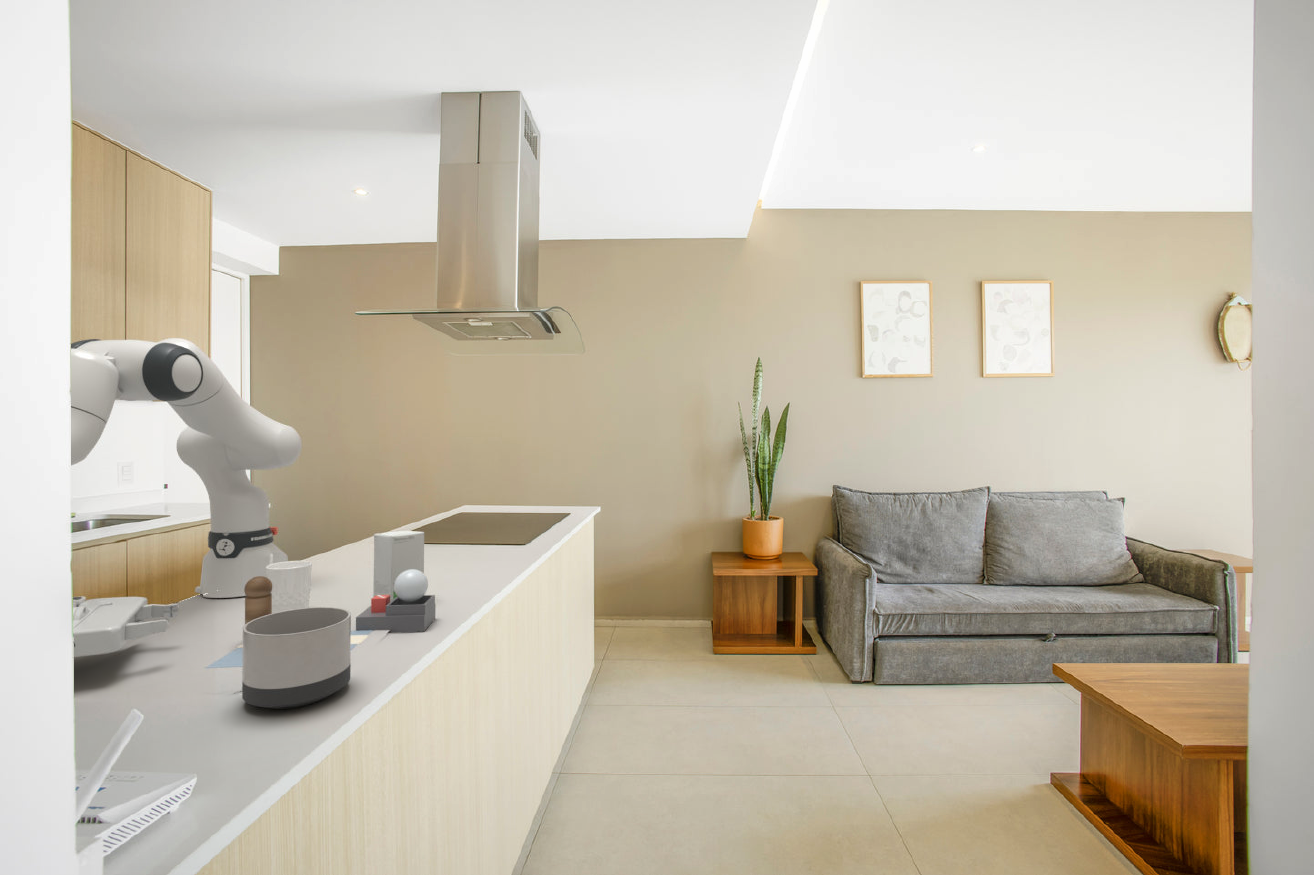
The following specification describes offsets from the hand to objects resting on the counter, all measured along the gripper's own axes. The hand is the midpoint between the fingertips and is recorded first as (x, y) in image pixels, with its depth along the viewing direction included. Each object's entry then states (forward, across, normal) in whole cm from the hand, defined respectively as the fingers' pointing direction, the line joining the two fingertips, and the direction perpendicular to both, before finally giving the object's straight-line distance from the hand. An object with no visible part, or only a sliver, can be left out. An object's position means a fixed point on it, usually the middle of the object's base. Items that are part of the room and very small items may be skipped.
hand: (173, 617), depth 95 cm
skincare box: (+36, +15, +7) cm, 39 cm away
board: (+17, -5, +7) cm, 19 cm away
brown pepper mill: (+11, +1, +6) cm, 13 cm away
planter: (+17, -25, +7) cm, 31 cm away
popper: (+33, 0, +7) cm, 34 cm away
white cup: (+16, +20, +7) cm, 26 cm away
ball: (+36, -1, +2) cm, 36 cm away
